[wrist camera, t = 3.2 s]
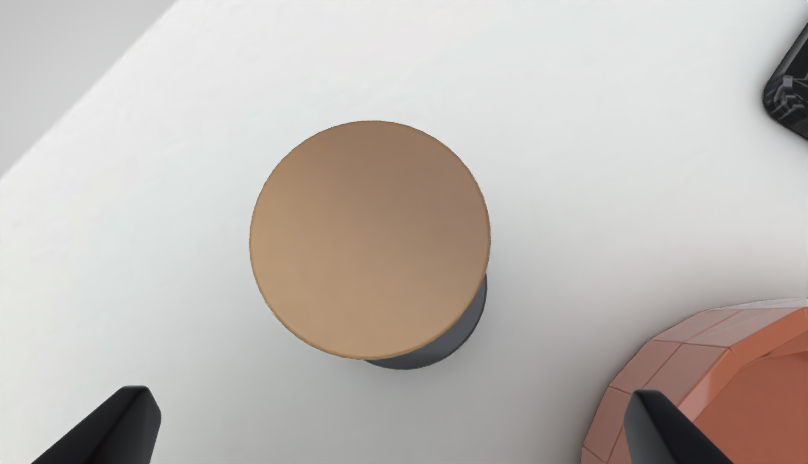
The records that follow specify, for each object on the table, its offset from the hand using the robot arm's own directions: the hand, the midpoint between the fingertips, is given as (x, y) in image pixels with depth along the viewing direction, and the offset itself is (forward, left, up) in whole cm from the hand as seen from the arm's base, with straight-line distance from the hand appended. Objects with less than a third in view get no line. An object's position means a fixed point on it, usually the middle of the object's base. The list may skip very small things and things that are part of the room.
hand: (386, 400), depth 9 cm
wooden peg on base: (+2, +1, -10) cm, 10 cm away
